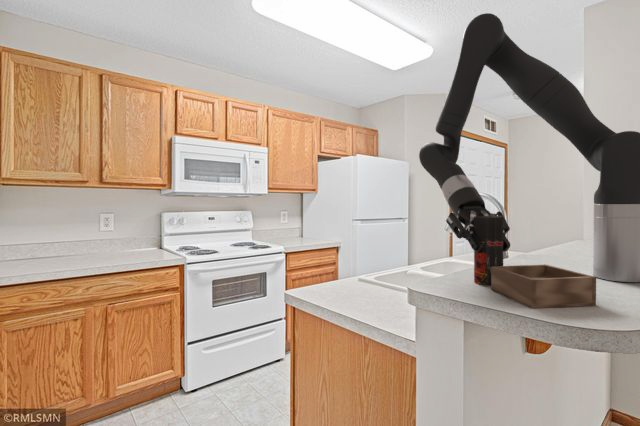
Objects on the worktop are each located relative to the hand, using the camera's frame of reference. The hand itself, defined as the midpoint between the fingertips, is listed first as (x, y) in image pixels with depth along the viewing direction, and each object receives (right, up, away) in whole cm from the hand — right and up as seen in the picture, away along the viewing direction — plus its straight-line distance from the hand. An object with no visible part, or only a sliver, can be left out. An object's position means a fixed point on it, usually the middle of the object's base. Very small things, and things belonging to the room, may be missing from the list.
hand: (493, 249), depth 76 cm
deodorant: (0, -8, +2) cm, 8 cm away
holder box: (+4, -8, -10) cm, 13 cm away
